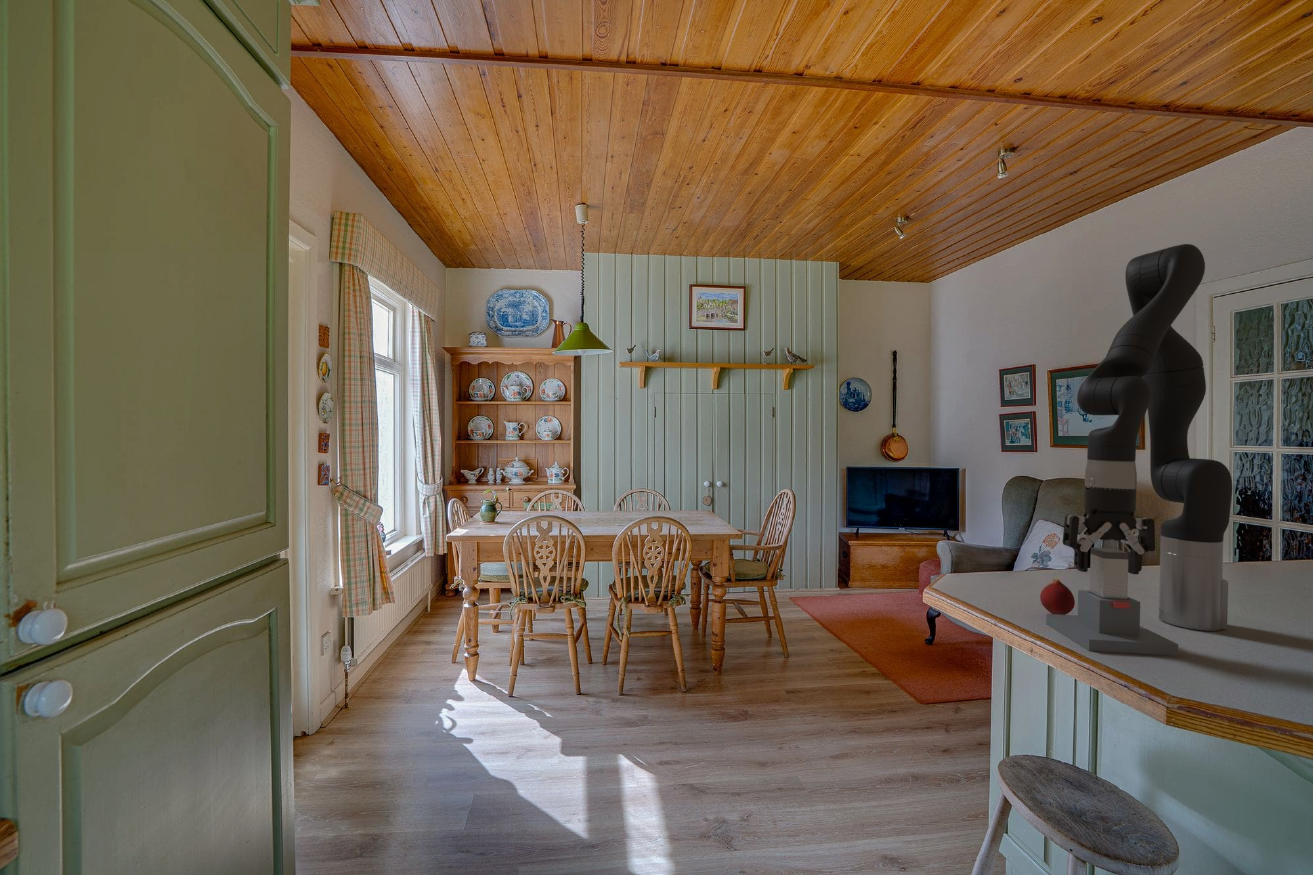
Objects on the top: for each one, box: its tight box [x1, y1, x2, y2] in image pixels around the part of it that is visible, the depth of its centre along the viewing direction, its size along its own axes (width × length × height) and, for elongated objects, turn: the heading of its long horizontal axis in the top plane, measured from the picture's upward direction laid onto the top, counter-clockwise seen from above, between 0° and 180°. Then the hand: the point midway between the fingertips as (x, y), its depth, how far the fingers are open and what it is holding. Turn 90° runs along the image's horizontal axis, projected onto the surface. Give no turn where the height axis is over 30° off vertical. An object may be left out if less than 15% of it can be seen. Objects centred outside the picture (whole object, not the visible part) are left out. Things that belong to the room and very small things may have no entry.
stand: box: [1045, 589, 1179, 657], centre depth 106 cm, size 14×14×8 cm
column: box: [1089, 547, 1129, 600], centre depth 106 cm, size 4×4×14 cm
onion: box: [1039, 578, 1076, 615], centre depth 118 cm, size 6×6×8 cm
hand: (1107, 572), depth 106 cm, fingers open, 8 cm apart
